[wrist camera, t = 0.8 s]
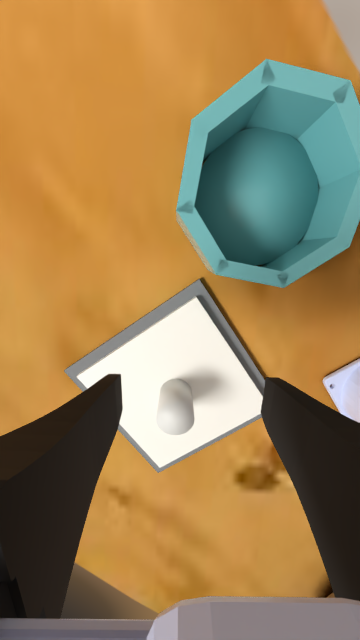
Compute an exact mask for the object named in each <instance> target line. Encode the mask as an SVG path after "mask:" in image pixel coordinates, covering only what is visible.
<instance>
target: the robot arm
mask: <svg viewBox="0 0 360 640" xmlns="http://www.w3.org/2000/svg"><path fill="white" fill-rule="evenodd" d="M323 384H324V386H325V387H326V389H327V391H328V393H329V394H330V396H331V398H332V400H333V401H334V403H335V405H336V407H337V408H338V410H339V412H340V413H339V412H337V411H335V410H333V409H331V408H330V407H328V406H326V405H324V404H322V403H321V402H319V401H317V400H316V399H314V398H312V397H311V396H309V395H307V394H306V393H304V392H302V391H301V390H299V389H297V388H296V387H294V386H292V385H291V384H289V383H287V382H286V381H284V380H282V379H280V378H270V377H266V380H265V387H264V393H263V400H262V406H261V415H262V418H263V421H264V424H265V427H266V429H267V432H268V434H269V436H270V438H271V440H272V442H273V444H274V446H275V448H276V450H277V452H278V454H279V456H280V458H281V460H282V462H283V464H284V466H285V468H286V470H287V472H288V474H289V476H290V478H291V480H292V482H293V484H294V487H295V489H296V491H297V494H298V496H299V499H300V501H301V504H302V506H303V509H304V511H305V514H306V516H307V519H308V522H309V524H310V527H311V530H312V532H313V535H314V538H315V541H316V543H317V546H318V549H319V552H320V555H321V557H322V560H323V563H324V566H325V569H326V572H327V575H328V578H329V581H330V583H331V586H332V590H333V593H334V596H335V598H307V597H220V596H208V597H201V598H195V599H188V600H181V601H179V602H178V603H176V604H174V605H172V606H171V607H169V608H167V609H165V610H164V611H162V612H160V614H159V615H158V616H157V618H156V619H155V620H123V619H118V620H117V619H60V616H61V613H62V608H63V604H64V600H65V596H66V592H67V588H68V584H69V580H70V576H71V573H72V569H73V565H74V561H75V557H76V554H77V550H78V546H79V542H80V539H81V535H82V531H83V528H84V524H85V521H86V517H87V514H88V510H89V507H90V503H91V500H92V497H93V493H94V490H95V486H96V484H97V481H98V478H99V475H100V472H101V470H102V467H103V465H104V462H105V460H106V457H107V455H108V452H109V450H110V447H111V445H112V442H113V440H114V437H115V435H116V432H117V429H118V426H119V422H120V418H121V414H122V410H123V404H122V385H121V374H107V375H106V376H104V377H103V378H102V379H100V380H99V381H97V382H96V383H95V384H93V385H92V386H91V387H89V388H88V389H86V390H85V391H84V392H82V393H81V394H79V395H78V396H76V397H75V398H73V399H72V400H70V401H69V402H67V403H65V404H64V405H62V406H61V407H59V408H57V409H56V410H54V411H52V412H50V413H49V414H47V415H45V416H43V417H41V418H39V419H37V420H35V421H33V422H31V423H29V424H27V425H25V426H22V427H20V428H18V429H16V430H14V431H12V432H9V433H7V434H5V435H2V436H0V640H360V358H359V359H358V360H356V361H354V362H352V363H350V364H348V365H346V366H345V367H343V368H341V369H339V370H337V371H335V372H333V373H332V374H330V375H328V376H326V377H325V378H324V379H323ZM331 384H332V385H331ZM330 385H331V386H330Z"/></svg>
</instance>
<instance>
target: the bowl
mask: <svg viewBox="0 0 360 640" xmlns="http://www.w3.org/2000/svg"><path fill="white" fill-rule="evenodd" d="M205 160H206V161H205ZM204 161H205V163H204V165H203V166H202V163H203V162H204ZM176 217H177V222H178V224H179V225H180V227H181V228H182V230H183V232H184V233H185V235H186V236H187V238H188V239H189V241H190V243H191V244H192V246H193V247H194V249H195V251H196V252H197V254H198V255H199V257H200V259H201V260H202V262H203V263H204V265H205V266H206V268H207V270H209V271H210V272H212V273H214V274H216V275H221V276H226V277H231V278H236V279H241V280H246V281H251V282H256V283H261V284H266V285H272V286H277V287H282V288H285V287H286V286H288V285H289V284H291V283H293V282H294V281H296V280H297V279H299V278H301V277H302V276H304V275H305V274H307V273H309V272H310V271H312V270H313V269H315V268H317V267H318V266H320V265H321V264H323V263H325V262H326V261H328V260H329V259H331V258H333V257H334V256H336V255H337V254H339V253H341V252H342V251H344V250H345V249H347V248H348V247H350V244H351V242H352V239H353V236H354V234H355V231H356V229H357V226H358V223H359V221H360V105H359V102H358V99H357V97H356V94H355V91H354V89H353V86H352V83H351V80H347V79H343V78H339V77H335V76H331V75H327V74H324V73H320V72H316V71H312V70H308V69H304V68H300V67H296V66H292V65H289V64H285V63H281V62H277V61H273V60H269V59H266V60H265V61H263V62H262V63H261V64H260V65H258V66H257V67H256V68H255V69H253V70H252V71H251V72H250V73H249V74H247V75H246V76H245V77H244V78H242V79H241V80H240V81H239V82H237V83H236V84H235V85H234V86H233V87H231V88H230V89H229V90H228V91H226V92H225V93H224V94H223V95H221V96H220V97H219V98H218V99H216V100H215V101H214V102H213V103H212V104H210V105H209V106H208V107H207V108H205V109H204V110H203V111H202V112H200V113H199V114H198V115H197V116H195V117H194V118H193V119H192V120H191V127H190V133H189V139H188V145H187V150H186V156H185V162H184V168H183V174H182V180H181V186H180V192H179V197H178V203H177V209H176ZM262 264H263V265H262ZM255 265H262V266H260V267H258V266H255Z"/></svg>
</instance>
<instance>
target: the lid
mask: <svg viewBox="0 0 360 640" xmlns="http://www.w3.org/2000/svg"><path fill="white" fill-rule="evenodd" d="M107 374H121V385H122V404H123V410H122V414H121V418H120V422H119V424H120V425H121V426H122V427H123V428H124V429H125V430H126V432H127V433H128V434H129V435H130V436H131V437H132V438H133V439H134V440H135V441H136V442H137V444H138V445H139V446H140V447H141V448H142V449H143V450H144V451H145V452H146V453H147V455H148V456H149V457H150V458H151V459H152V460H153V461H154V462H155V463H156V464H157V465H158V467H159V468H161V467H163V466H165V465H166V464H168V463H170V462H172V461H174V460H176V459H177V458H179V457H181V456H183V455H185V454H187V453H189V452H190V451H192V450H194V449H196V448H198V447H200V446H202V445H203V444H205V443H207V442H209V441H211V440H213V439H215V438H216V437H218V436H220V435H222V434H224V433H226V432H228V431H229V430H231V429H233V428H235V427H237V426H239V425H241V424H242V423H244V422H246V421H248V420H250V419H252V418H254V417H255V416H257V415H259V414H261V406H262V400H263V396H262V395H261V393H260V392H259V390H258V389H257V387H256V386H255V384H254V383H253V381H252V379H251V378H250V376H249V375H248V373H247V372H246V370H245V369H244V367H243V366H242V364H241V363H240V361H239V360H238V358H237V357H236V355H235V354H234V352H233V351H232V349H231V348H230V346H229V345H228V343H227V342H226V340H225V339H224V337H223V336H222V334H221V333H220V331H219V330H218V328H217V327H216V325H215V324H214V322H213V321H212V319H211V318H210V316H209V315H208V313H207V312H206V310H205V309H204V307H203V306H202V304H201V303H200V301H199V300H198V298H197V297H196V296H195V297H194V298H192V299H191V300H189V301H188V302H186V303H185V304H183V305H182V306H180V307H179V308H177V309H176V310H174V311H173V312H171V313H170V314H168V315H167V316H165V317H164V318H162V319H161V320H159V321H158V322H156V323H155V324H153V325H152V326H150V327H149V328H147V329H145V330H144V331H142V332H141V333H139V334H138V335H136V336H135V337H133V338H132V339H130V340H129V341H127V342H126V343H124V344H123V345H121V346H120V347H118V348H117V349H115V350H114V351H112V352H111V353H109V354H108V355H106V356H105V357H103V358H102V359H100V360H99V361H97V362H96V363H94V364H93V365H91V366H90V367H88V368H87V369H85V370H84V371H82V372H81V373H79V374H78V376H77V378H78V379H79V380H80V381H81V382H82V383H83V385H84V386H85V387H86V388H87V389H88V388H89V387H91V386H92V385H93V384H95V383H96V382H97V381H99V380H100V379H102V378H103V377H104V376H106V375H107Z"/></svg>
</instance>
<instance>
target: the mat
mask: <svg viewBox="0 0 360 640" xmlns="http://www.w3.org/2000/svg"><path fill="white" fill-rule="evenodd" d="M195 296H196V297H197V298H198V300H199V301H200V303H201V304H202V306H203V307H204V309H205V310H206V312H207V313H208V315H209V316H210V318H211V319H212V321H213V322H214V324H215V325H216V327H217V328H218V330H219V331H220V333H221V334H222V336H223V337H224V339H225V340H226V342H227V343H228V345H229V346H230V348H231V349H232V351H233V352H234V354H235V355H236V357H237V358H238V360H239V361H240V363H241V364H242V366H243V367H244V369H245V370H246V372H247V373H248V375H249V376H250V378H251V379H252V381H253V383H254V384H255V386H256V387H257V389H258V390H259V392H260V393H261V395H262V396H263V393H264V387H265V380H264V378H263V377H262V375H261V374H260V372H259V371H258V369H257V368H256V366H255V364H254V363H253V361H252V360H251V358H250V357H249V355H248V354H247V352H246V351H245V349H244V347H243V346H242V344H241V343H240V341H239V340H238V338H237V337H236V335H235V334H234V332H233V330H232V329H231V327H230V326H229V324H228V323H227V321H226V320H225V318H224V317H223V315H222V313H221V312H220V310H219V309H218V307H217V306H216V304H215V303H214V301H213V300H212V298H211V296H210V295H209V293H208V292H207V290H206V289H205V287H204V286H203V284H202V283H201V281H200V279H198V280H197V281H195V282H194V283H192V284H191V285H189V286H188V287H186V288H185V289H183V290H182V291H180V292H179V293H177V294H176V295H175V296H173V297H172V298H170V299H169V300H167V301H166V302H164V303H163V304H161V305H160V306H158V307H157V308H155V309H154V310H152V311H151V312H149V313H148V314H146V315H145V316H143V317H142V318H140V319H139V320H138V321H136V322H135V323H133V324H132V325H130V326H129V327H127V328H126V329H124V330H123V331H121V332H120V333H118V334H117V335H115V336H114V337H112V338H111V339H109V340H108V341H106V342H105V343H103V344H102V345H101V346H99V347H98V348H96V349H95V350H93V351H92V352H90V353H89V354H87V355H86V356H84V357H83V358H81V359H80V360H78V361H77V362H75V363H74V364H72V365H71V366H69V367H68V368H67V369H65V370H64V372H65V373H66V374H67V375H68V376H69V377H70V378H71V379H72V380H73V381H74V382H75V383H76V385H77V386H78V387H79V388H80V389H81V390H82V391H83V392H84V391H85V390H86V389H87V388H86V387H85V386H84V385H83V383H82V382H81V381H80V380H79V379H78V378H77V376H78V374H79V373H81V372H82V371H84V370H85V369H87V368H88V367H90V366H91V365H93V364H94V363H96V362H97V361H99V360H100V359H102V358H103V357H105V356H106V355H108V354H109V353H111V352H112V351H114V350H115V349H117V348H118V347H120V346H121V345H123V344H124V343H126V342H127V341H129V340H130V339H132V338H133V337H135V336H136V335H138V334H139V333H141V332H142V331H144V330H145V329H147V328H149V327H150V326H152V325H153V324H155V323H156V322H158V321H159V320H161V319H162V318H164V317H165V316H167V315H168V314H170V313H171V312H173V311H174V310H176V309H177V308H179V307H180V306H182V305H183V304H185V303H186V302H188V301H189V300H191V299H192V298H194V297H195ZM261 417H262V415H261V414H259V415H257V416H255V417H254V418H252V419H250V420H248V421H246V422H244V423H242V424H241V425H239V426H237V427H235V428H233V429H231V430H229V431H228V432H226V433H224V434H222V435H220V436H218V437H216V438H215V439H213V440H211V441H209V442H207V443H205V444H203V445H202V446H200V447H198V448H196V449H194V450H192V451H190V452H189V453H187V454H185V455H183V456H181V457H179V458H177V459H176V460H174V461H172V462H170V463H168V464H166V465H165V466H163V467H161V468H159V467H158V465H157V464H156V463H155V462H154V461H153V460H152V459H151V458H150V457H149V456H148V455H147V453H146V452H145V451H144V450H143V449H142V448H141V447H140V446H139V445H138V444H137V442H136V441H135V440H134V439H133V438H132V437H131V436H130V435H129V434H128V433H127V432H126V430H125V429H124V428H123V427H122V426H121V425H120V424H119V426H118V430H119V431H120V432H121V433H122V434H123V435H124V436H125V438H126V439H127V440H128V441H129V442H130V443H131V444H132V445H133V446H134V447H135V448H136V449H137V451H138V452H139V453H140V454H141V455H142V456H143V457H144V458H145V459H146V460H147V461H148V462H149V464H150V465H151V466H152V467H153V468H154V469H155V470H156V471H157V472H158V473H159V472H161V471H163V470H164V469H166V468H168V467H170V466H172V465H174V464H176V463H178V462H179V461H181V460H183V459H185V458H187V457H189V456H191V455H192V454H194V453H196V452H198V451H200V450H202V449H204V448H205V447H207V446H209V445H211V444H213V443H215V442H217V441H219V440H220V439H222V438H224V437H226V436H228V435H230V434H232V433H233V432H235V431H237V430H239V429H241V428H243V427H245V426H247V425H248V424H250V423H252V422H254V421H256V420H258V419H260V418H261Z"/></svg>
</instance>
